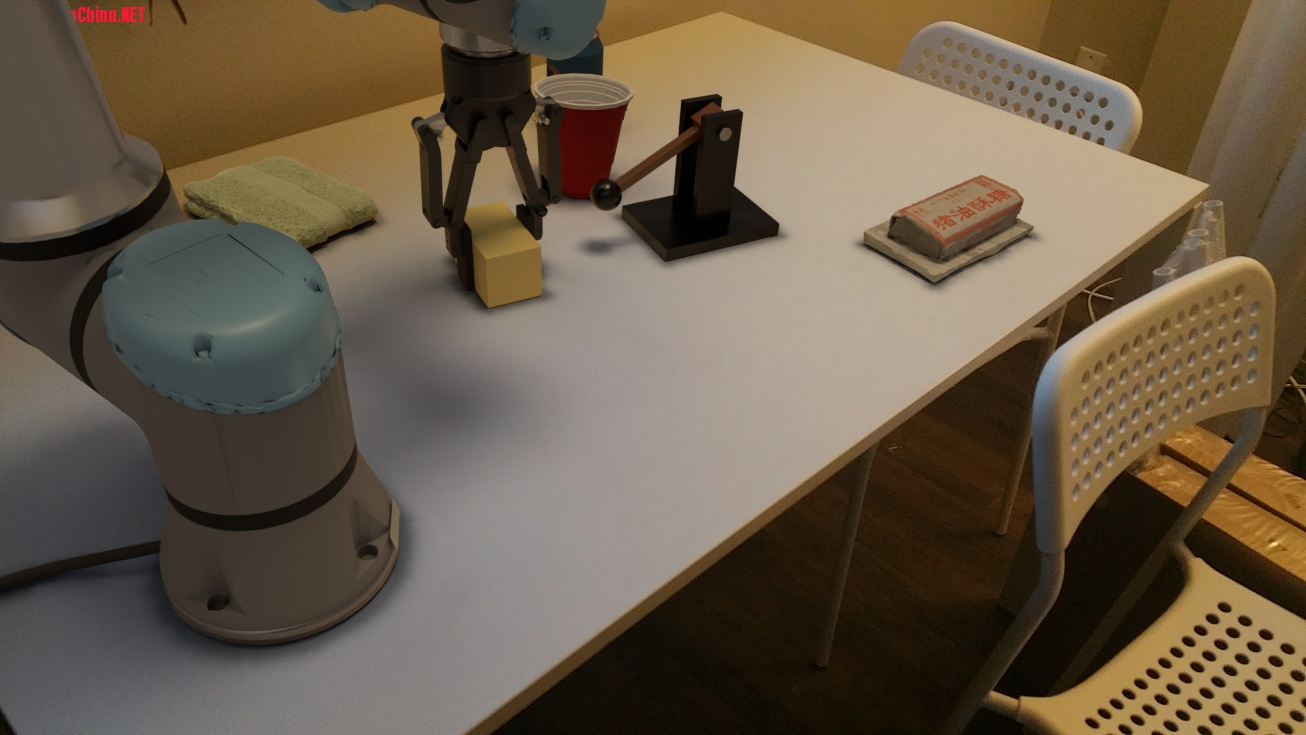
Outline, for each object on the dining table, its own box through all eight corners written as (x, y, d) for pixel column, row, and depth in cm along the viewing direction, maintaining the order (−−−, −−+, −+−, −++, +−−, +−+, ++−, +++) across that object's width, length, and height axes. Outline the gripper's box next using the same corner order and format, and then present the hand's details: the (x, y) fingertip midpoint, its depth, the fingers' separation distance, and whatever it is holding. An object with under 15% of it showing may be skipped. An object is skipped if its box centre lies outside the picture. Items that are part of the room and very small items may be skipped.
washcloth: (280, 166, 112) (275, 140, 110) (387, 219, 104) (384, 192, 102) (176, 208, 103) (168, 181, 101) (284, 269, 96) (278, 240, 94)
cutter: (665, 261, 101) (676, 136, 93) (621, 216, 108) (627, 96, 99) (778, 234, 107) (797, 115, 98) (729, 193, 114) (743, 78, 105)
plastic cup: (634, 169, 117) (639, 71, 110) (623, 213, 108) (628, 110, 101) (543, 160, 117) (543, 61, 110) (525, 203, 109) (523, 100, 101)
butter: (488, 308, 93) (485, 258, 89) (453, 259, 99) (450, 210, 96) (542, 295, 95) (541, 246, 91) (504, 247, 101) (503, 200, 98)
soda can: (538, 118, 126) (537, 25, 119) (587, 111, 129) (589, 19, 122) (560, 141, 122) (560, 45, 114) (610, 132, 124) (614, 38, 117)
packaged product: (969, 162, 113) (1045, 197, 107) (958, 199, 116) (1031, 235, 110) (868, 204, 103) (945, 245, 98) (859, 244, 106) (933, 286, 101)
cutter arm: (606, 222, 99) (594, 199, 97) (592, 207, 101) (580, 185, 99) (734, 133, 100) (725, 108, 98) (717, 120, 102) (708, 96, 100)
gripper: (390, 73, 76) (416, 317, 91) (605, 44, 84) (598, 273, 98) (362, 40, 81) (392, 276, 96) (568, 15, 89) (566, 237, 103)
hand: (496, 274), depth 97 cm, fingers closed on butter, 6 cm apart
